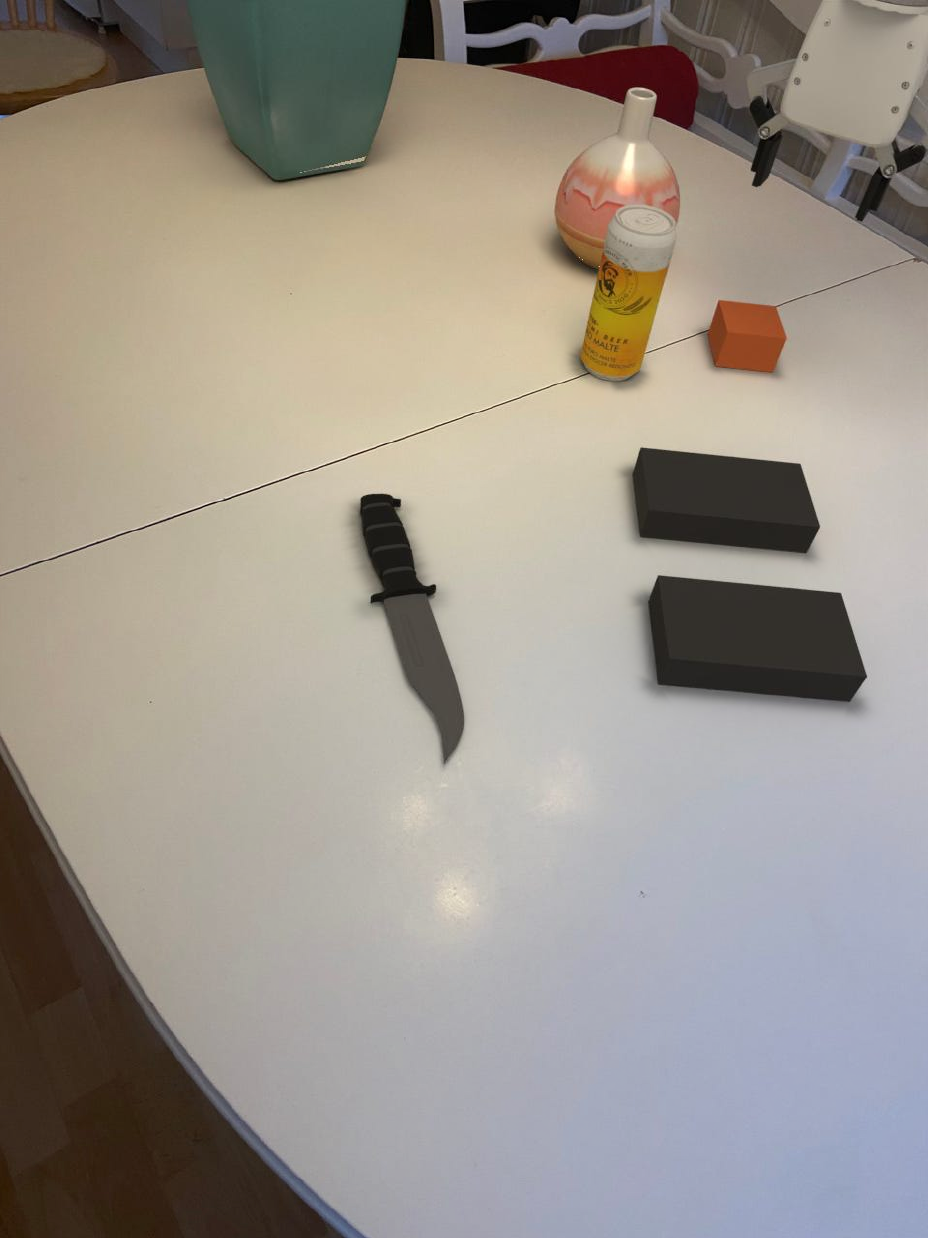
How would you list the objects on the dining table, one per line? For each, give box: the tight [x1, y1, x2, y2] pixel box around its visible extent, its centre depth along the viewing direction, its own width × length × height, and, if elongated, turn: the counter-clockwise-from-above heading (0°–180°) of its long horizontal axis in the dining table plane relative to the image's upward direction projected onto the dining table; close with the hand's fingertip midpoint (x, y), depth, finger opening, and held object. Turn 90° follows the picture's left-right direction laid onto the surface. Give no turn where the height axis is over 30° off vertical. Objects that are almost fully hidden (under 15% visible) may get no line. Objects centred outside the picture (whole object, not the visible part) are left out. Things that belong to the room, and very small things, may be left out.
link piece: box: [707, 299, 788, 373], centre depth 94 cm, size 6×6×4 cm
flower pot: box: [185, 0, 407, 181], centre depth 106 cm, size 20×20×28 cm
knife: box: [359, 493, 465, 765], centre depth 67 cm, size 25×2×5 cm
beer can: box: [580, 205, 678, 382], centre depth 86 cm, size 6×6×15 cm
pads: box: [632, 446, 868, 703], centre depth 73 cm, size 14×23×3 cm, turn 178°
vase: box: [554, 87, 681, 271], centre depth 100 cm, size 14×14×18 cm
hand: (810, 198), depth 84 cm, fingers open, 9 cm apart
